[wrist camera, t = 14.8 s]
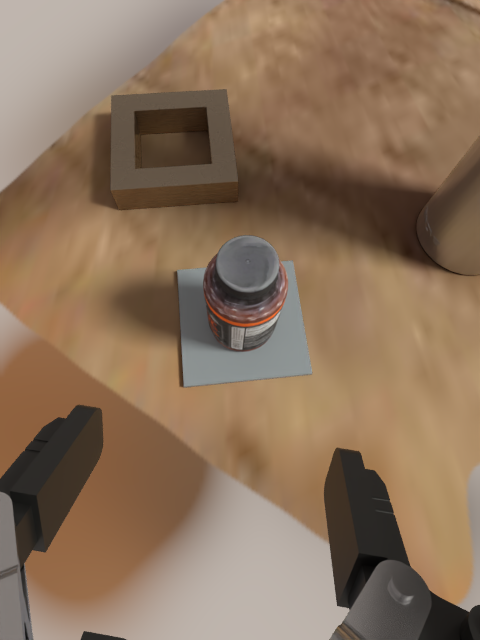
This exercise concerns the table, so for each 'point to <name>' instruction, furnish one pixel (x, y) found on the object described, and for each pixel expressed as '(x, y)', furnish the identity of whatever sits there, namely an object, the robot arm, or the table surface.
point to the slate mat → (234, 366)
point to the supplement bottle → (244, 292)
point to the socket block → (176, 181)
